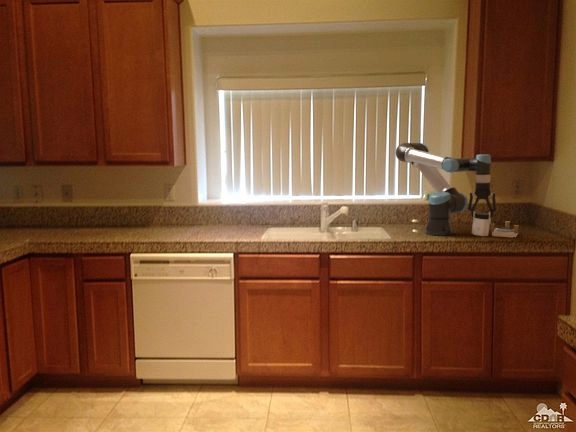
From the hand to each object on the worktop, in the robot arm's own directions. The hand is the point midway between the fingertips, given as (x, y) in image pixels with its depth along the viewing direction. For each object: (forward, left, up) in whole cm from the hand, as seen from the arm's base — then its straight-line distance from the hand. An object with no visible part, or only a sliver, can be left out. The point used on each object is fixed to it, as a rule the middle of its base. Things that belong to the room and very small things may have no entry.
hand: (481, 223), depth 283 cm
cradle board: (+11, +8, -7) cm, 16 cm away
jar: (-1, 0, -7) cm, 7 cm away
